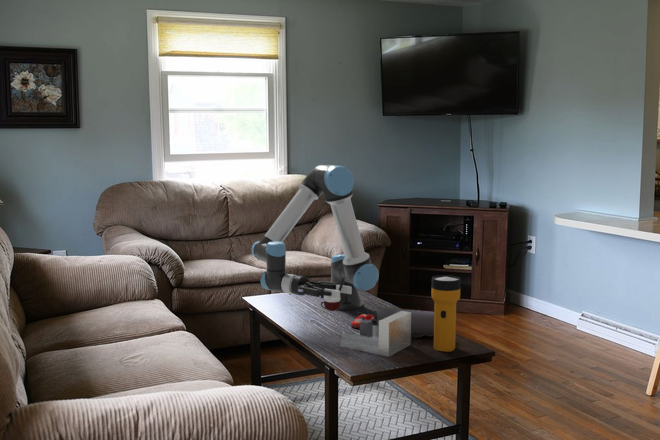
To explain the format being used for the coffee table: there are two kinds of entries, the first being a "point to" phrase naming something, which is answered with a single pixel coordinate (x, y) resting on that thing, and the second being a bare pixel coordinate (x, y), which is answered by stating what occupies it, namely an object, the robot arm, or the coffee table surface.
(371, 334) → the tall grey box
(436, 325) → the flashlight
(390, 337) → the labeled panel enclosure
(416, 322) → the bluetooth speaker
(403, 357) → the coffee table surface
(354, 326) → the race car
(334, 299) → the cocoa
